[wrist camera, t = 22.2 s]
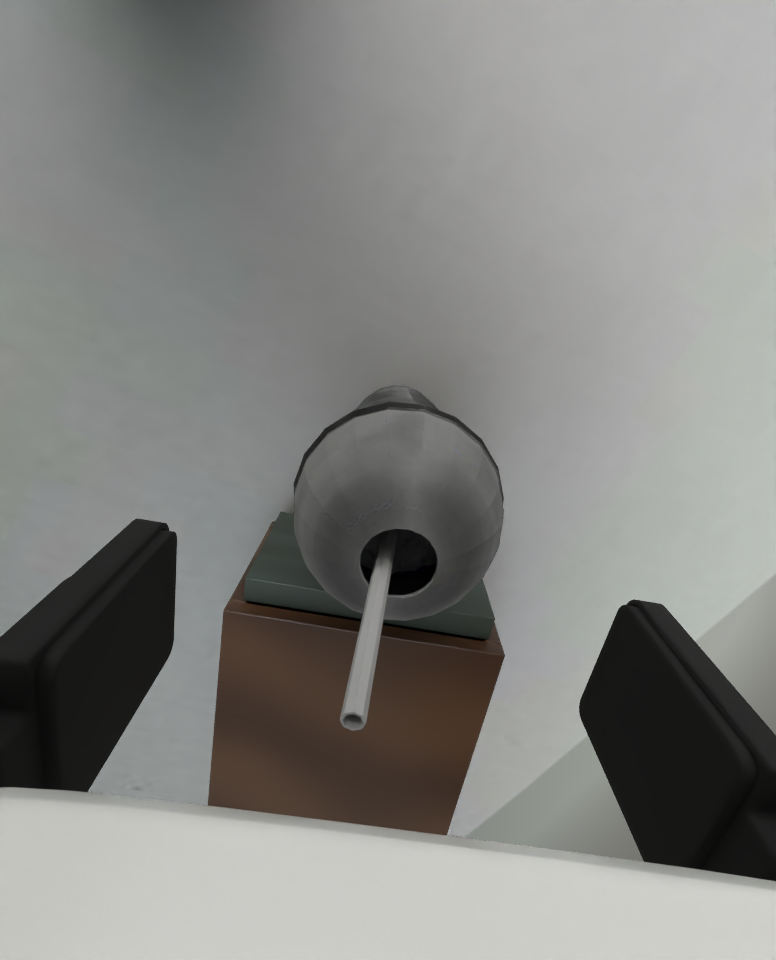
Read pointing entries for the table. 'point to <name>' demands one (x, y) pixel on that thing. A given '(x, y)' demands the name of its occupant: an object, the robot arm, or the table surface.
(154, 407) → the table surface
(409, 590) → the beverage cup
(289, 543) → the drawer
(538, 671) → the table surface
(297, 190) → the table surface
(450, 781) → the cabinet
